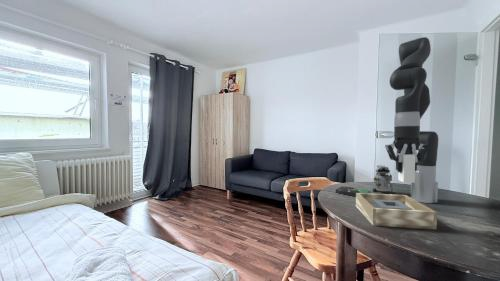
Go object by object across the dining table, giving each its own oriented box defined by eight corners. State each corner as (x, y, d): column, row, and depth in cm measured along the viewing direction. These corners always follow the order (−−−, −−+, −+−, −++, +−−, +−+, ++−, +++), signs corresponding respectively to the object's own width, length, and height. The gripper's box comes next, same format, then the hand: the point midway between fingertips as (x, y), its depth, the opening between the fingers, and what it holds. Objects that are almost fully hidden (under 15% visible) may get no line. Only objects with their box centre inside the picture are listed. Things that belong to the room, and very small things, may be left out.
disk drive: (335, 194, 117) (365, 200, 107) (335, 189, 116) (365, 194, 107) (341, 190, 124) (370, 195, 115) (341, 185, 124) (370, 190, 114)
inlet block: (398, 210, 89) (398, 200, 89) (411, 219, 79) (412, 209, 79) (372, 208, 91) (372, 199, 91) (382, 217, 81) (382, 207, 81)
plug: (408, 180, 81) (409, 145, 80) (414, 182, 77) (415, 146, 76) (398, 180, 81) (398, 145, 80) (403, 182, 78) (404, 146, 77)
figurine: (370, 194, 115) (370, 166, 115) (374, 189, 124) (375, 163, 123) (390, 197, 109) (391, 167, 109) (393, 192, 118) (394, 165, 118)
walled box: (405, 208, 93) (405, 195, 93) (436, 229, 73) (437, 212, 73) (355, 206, 97) (356, 193, 96) (372, 225, 77) (373, 208, 77)
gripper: (421, 124, 81) (421, 170, 82) (381, 125, 83) (380, 170, 84) (435, 124, 73) (434, 174, 74) (390, 125, 76) (390, 174, 76)
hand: (406, 171), depth 79 cm, fingers closed on plug, 3 cm apart
